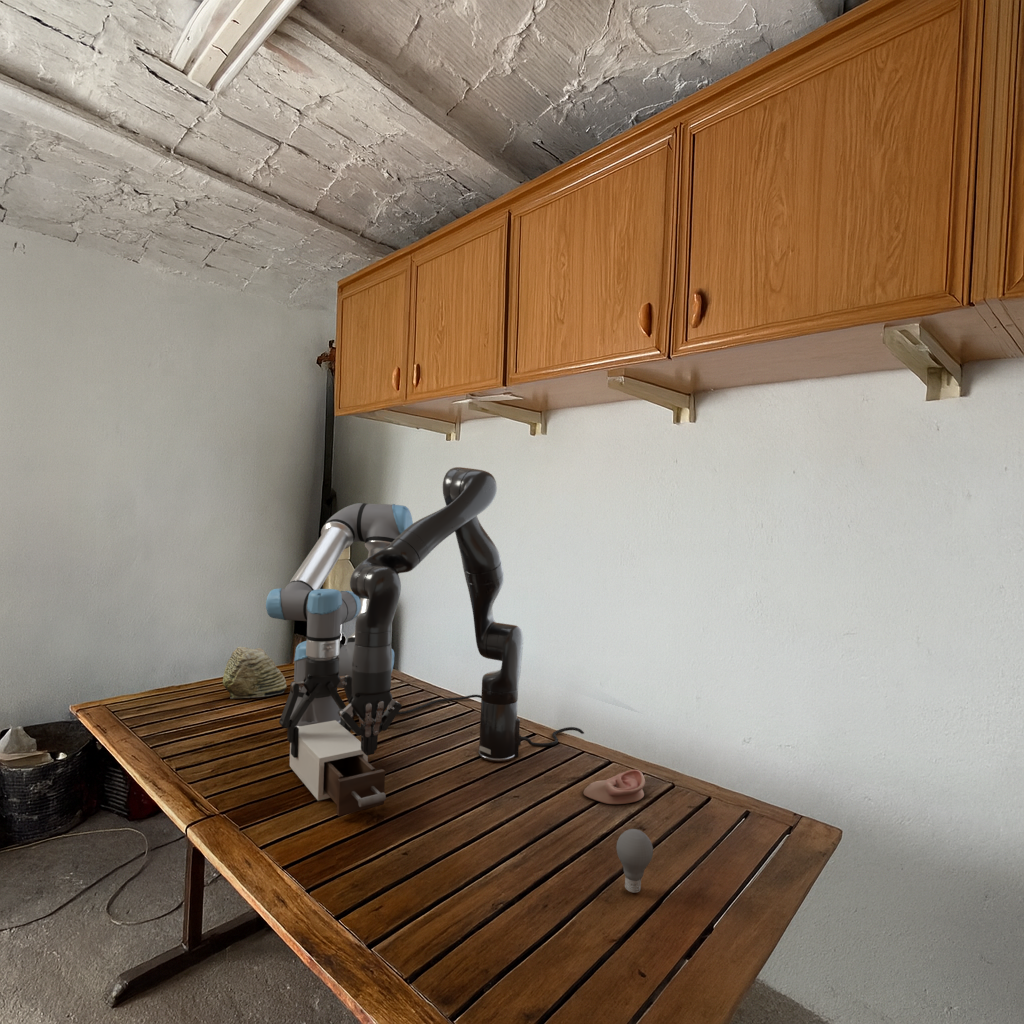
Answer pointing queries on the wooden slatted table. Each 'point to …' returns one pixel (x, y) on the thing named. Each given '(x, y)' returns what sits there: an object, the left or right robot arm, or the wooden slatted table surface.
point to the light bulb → (634, 857)
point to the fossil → (252, 674)
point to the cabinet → (322, 753)
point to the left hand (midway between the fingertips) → (319, 750)
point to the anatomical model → (618, 788)
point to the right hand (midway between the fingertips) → (368, 753)
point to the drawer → (354, 784)
